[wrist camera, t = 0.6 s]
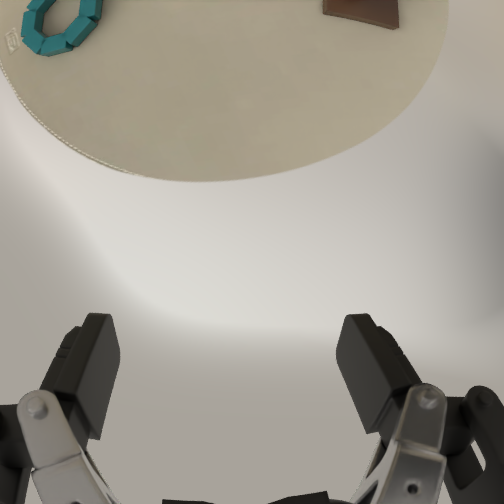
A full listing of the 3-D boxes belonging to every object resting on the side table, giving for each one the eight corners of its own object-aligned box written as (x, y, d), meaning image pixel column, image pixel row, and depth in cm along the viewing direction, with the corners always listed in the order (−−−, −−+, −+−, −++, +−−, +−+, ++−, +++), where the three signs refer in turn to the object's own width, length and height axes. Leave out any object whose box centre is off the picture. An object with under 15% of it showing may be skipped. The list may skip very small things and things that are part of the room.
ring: (35, -6, 21) (27, -10, 19) (106, -28, 22) (101, -34, 20) (26, 63, 25) (18, 61, 23) (98, 44, 26) (92, 41, 24)
